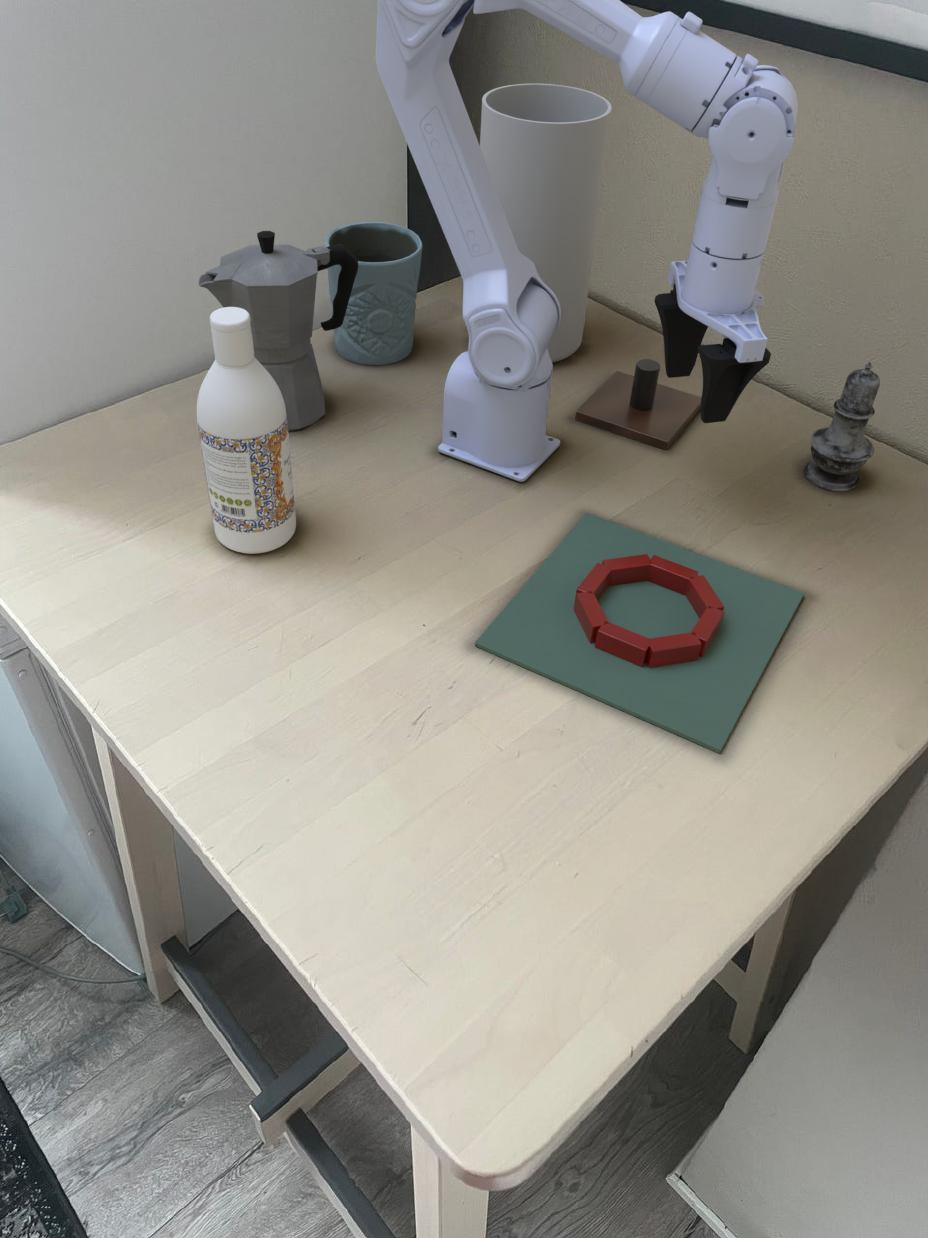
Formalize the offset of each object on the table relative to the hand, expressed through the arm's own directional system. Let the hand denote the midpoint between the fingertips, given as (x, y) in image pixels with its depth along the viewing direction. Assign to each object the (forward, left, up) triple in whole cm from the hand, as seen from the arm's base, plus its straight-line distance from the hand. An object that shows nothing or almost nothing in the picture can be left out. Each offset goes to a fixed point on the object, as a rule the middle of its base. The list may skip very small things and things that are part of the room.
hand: (694, 397), depth 90 cm
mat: (+5, -19, -9) cm, 22 cm away
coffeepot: (-38, -9, -10) cm, 40 cm away
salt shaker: (+12, +10, -10) cm, 18 cm away
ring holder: (-8, +10, -9) cm, 16 cm away
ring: (+5, -19, -9) cm, 22 cm away
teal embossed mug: (-38, +6, -10) cm, 40 cm away
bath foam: (-28, -27, -10) cm, 40 cm away
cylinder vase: (-25, +17, -10) cm, 32 cm away
